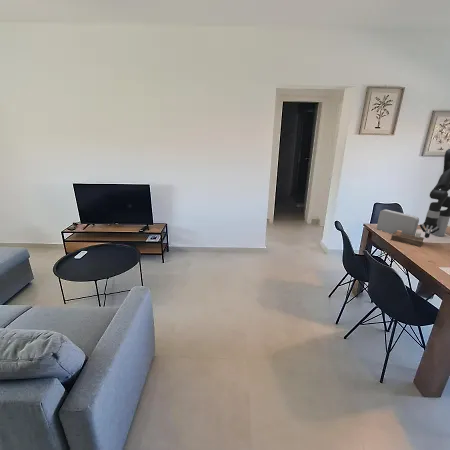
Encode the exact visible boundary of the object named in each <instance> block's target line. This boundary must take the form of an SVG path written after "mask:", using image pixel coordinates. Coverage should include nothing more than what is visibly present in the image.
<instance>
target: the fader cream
mask: <svg viewBox="0 0 450 450" xmlns="http://www.w3.org/2000/svg"><path fill="white" fill-rule="evenodd" d="M421 234H422V232H418V231H416V234H415V237H417V238H420V237H422V235H421Z"/></svg>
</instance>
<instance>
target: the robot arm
mask: <svg viewBox="0 0 450 450" xmlns="http://www.w3.org/2000/svg"><path fill="white" fill-rule="evenodd" d="M443 157H444V159H443V171H442V174H441V175H440V176H439V179H438V181H437V183H436V185H435V186H434V188H432V189H431V191H430V193H429V198H430V199H432V200H437V201H432V202H430V203H429V205H428V210H427V212H426V216H425V219H424V222H423V223H421V224H419V227H420V229H421V231H422V232H423V233H424V239H429V238H430V236H431V235H432V236H438V237H444V236H445V234H446V232H447V228H448V225H449V222H450V195H449V193H448V192H449V191H450V148H448V149H446V151H445V152H444V156H443ZM442 208H446V209H442ZM441 209H442V210H441Z"/></svg>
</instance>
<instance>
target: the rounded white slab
mask: <svg viewBox="0 0 450 450" xmlns="http://www.w3.org/2000/svg"><path fill="white" fill-rule="evenodd" d="M419 223H420V219H419V217H418V216H416V215H411V214H407V213H403V212H399V211H394V210H389V209H383V210H380V211H379V215H378V220H377V224H376V229H377V230H378V229H379V230H378V231H381V230H382V232H384V231H385V233H387V234H391V235H393V233H394V232H395V231H396V232H397V230H400V231H402V233H405V234H409V235H414V236H415V235H416V232H417V230H418V226H419Z"/></svg>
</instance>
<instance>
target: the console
mask: <svg viewBox="0 0 450 450" xmlns="http://www.w3.org/2000/svg"><path fill="white" fill-rule="evenodd" d="M396 233H397V232H396V231H395V232H394V233H393V234H391V238H390V241H394V242H398V243H403V244H408V245H410V246H411V245H412V246H416V247H420V248H421V247H422V245H423V243H424V239H425V237H422V236H420V238H417V237H415V236H414V235H409V234H405V233H402V234H401V236H398V235H396Z"/></svg>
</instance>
